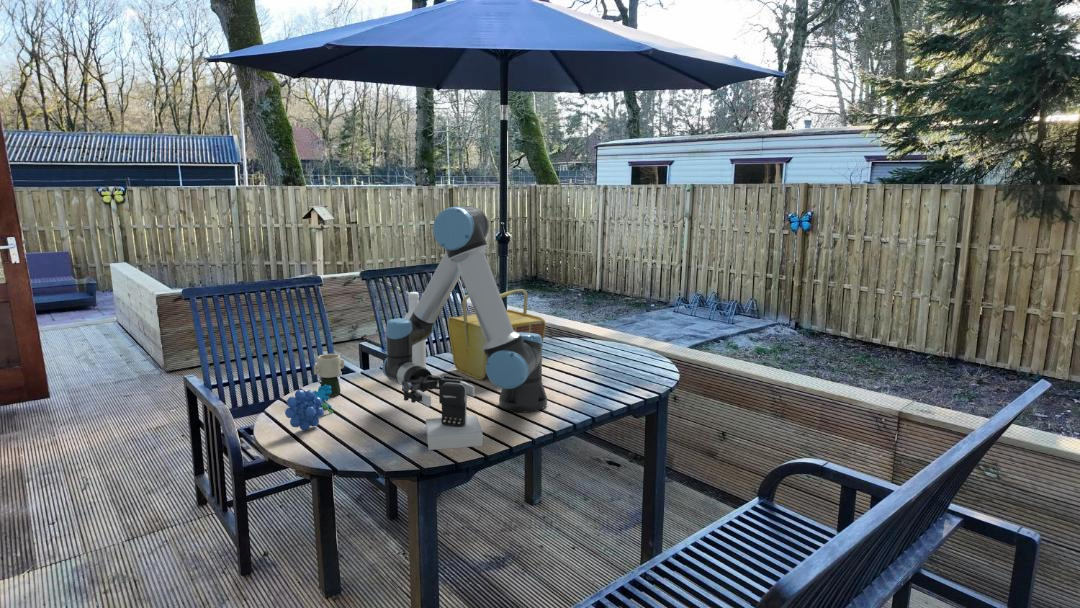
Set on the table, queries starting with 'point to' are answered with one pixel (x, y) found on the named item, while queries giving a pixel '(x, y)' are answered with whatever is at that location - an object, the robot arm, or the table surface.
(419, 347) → the bottle
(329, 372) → the character mug
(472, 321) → the picnic basket
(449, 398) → the battery charger
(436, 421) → the stand
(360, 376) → the table surface
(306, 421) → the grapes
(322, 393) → the blue green lumpy piece
